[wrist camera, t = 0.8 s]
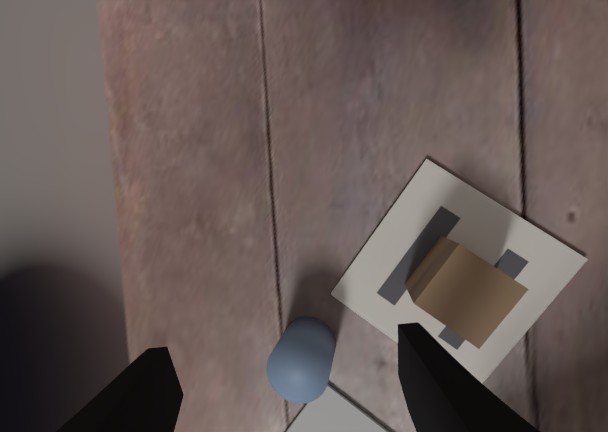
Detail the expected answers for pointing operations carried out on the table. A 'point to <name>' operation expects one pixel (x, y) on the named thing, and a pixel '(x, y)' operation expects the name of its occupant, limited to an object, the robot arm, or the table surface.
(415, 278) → the walnut block
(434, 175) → the letter card
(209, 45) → the table surface
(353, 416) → the grey mat
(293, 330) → the blue cylinder
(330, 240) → the table surface
